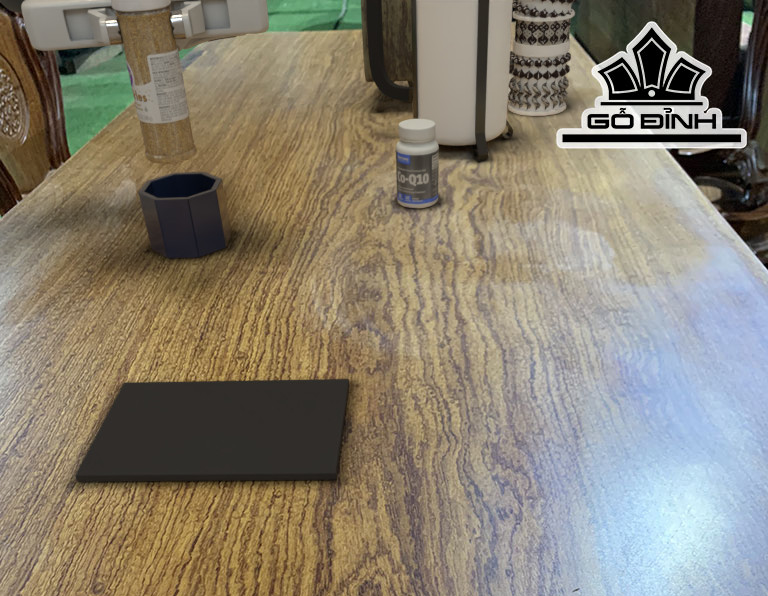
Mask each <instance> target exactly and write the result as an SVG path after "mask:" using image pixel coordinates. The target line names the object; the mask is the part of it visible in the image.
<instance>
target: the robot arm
mask: <svg viewBox="0 0 768 596" xmlns="http://www.w3.org/2000/svg"><path fill="white" fill-rule="evenodd" d="M0 4H2V6H4V7H5V8H6V9H7V10H8V11H11V12H13V13H17V14H22V17H23V22H24V27H25V29H26V33H27V35H28V38H29V39H28V40H29V41H30V45H31V46H32V48H34V49H35V50H37V51H42V52H50V51H63V50H74V49H86V48H96V47H99V48H100V47H110V46H121V45H122V46H123V42H122V37H121V33H120V27H119V23H118V19H117V16H116V14H115V11H116V10H115V9H113V8H112V4H111V0H0ZM169 6H170V7H171V10H170V18H171V24H172V26H173V35H174V40H176V45H177V47H178V52H180V51H182V50H189V49H191V48H194V47H196V46H199V45H201V44H204V43H208V42H209V43H210V42H214V41H220V40H224V39H226V40H227V39H231V38H236V37H243V36H245V35H259V34H263V33H267V32H268V31H269V29H270V20H269V11H268V10H269V9H268V1H267V0H171V3H170V4H169Z"/></svg>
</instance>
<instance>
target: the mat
mask: <svg viewBox="0 0 768 596" xmlns="http://www.w3.org/2000/svg"><path fill="white" fill-rule="evenodd" d="M349 389H350V380H349V378H334V379H329V378H327V379H324V378H323V379H267V380H265V379H262V380H201V381H197V380H196V381H195V380H193V381H144V382H143V381H142V382H141V381H139V382H138V381H137V382H131V381H130V382H123V384H122V385H121V387H120V389H119V391H118V393H117V395H116V397H115V399H114V401H113V402H112V404H111V406H110V409H109V410H108V412H107V414H106V416H105V418H104V420H103V422H102V423H101V425H100V427H99V429H98V431H97V433H96V436H95V437H94V439H93V440H92V443H91V445H90V446H89V448H88V450H87V452H86V454H85V455H84V458H83V460H82V462H81V464H80V465H79V467H78V469H77V471H76V473H75V479H76V481H77V482H78V483H93V482H95V483H96V482H97V483H98V482H100V483H101V482H102V483H103V482H107V483H108V482H113V483H114V482H214V481H215V482H216V481H217V482H218V481H221V482H223V481H225V482H226V481H227V482H228V481H231V482H232V481H233V482H234V481H331V480H332V481H333V480H337V478H338V471H339V464H340V457H341V450H342V442H343V435H344V426H345V420H346V413H347V405H348V397H349Z"/></svg>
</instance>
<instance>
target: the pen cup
mask: <svg viewBox="0 0 768 596" xmlns="http://www.w3.org/2000/svg"><path fill="white" fill-rule="evenodd" d="M137 193H138V198H139V201H140V202H139V203H140V207H141V210H142V215H143V218H144V223H145V227H146V231H147V236H148V240H149V245H150V249H151V250H152V251H154V252H155V253H158V254H159V255H160V256H163V257H164V258H166V259H198V258H203V257H204V256H207V255H210V254H213V253H215V252H218V251H220V250H223V249H225V248H227V247H228V244H229V241H230V240H231V237H232V230H231V224H230V218H229V213H228V208H227V201H226V194H225V188H224V182H223V178H221V177H219V176H216V175H214V174H212V173H208V172H206V171H189V172H187V171H186V172H185V171H184V172H183V171H181V172H172V173H168V174H165V175H161V176H159V177H155V178H152V179H149V180H147V181H145V182H144V184H143V185H142V186H141V188H140V189H139V190H138V192H137Z"/></svg>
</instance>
